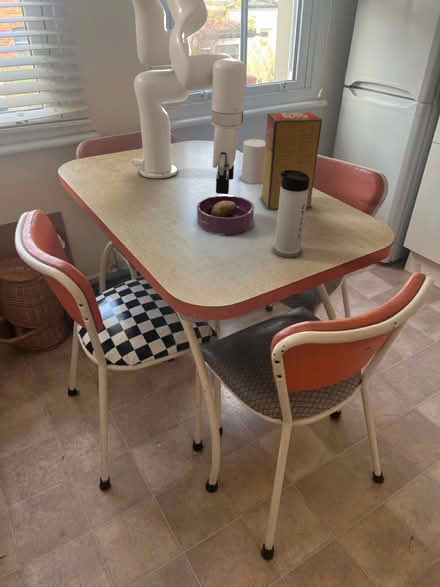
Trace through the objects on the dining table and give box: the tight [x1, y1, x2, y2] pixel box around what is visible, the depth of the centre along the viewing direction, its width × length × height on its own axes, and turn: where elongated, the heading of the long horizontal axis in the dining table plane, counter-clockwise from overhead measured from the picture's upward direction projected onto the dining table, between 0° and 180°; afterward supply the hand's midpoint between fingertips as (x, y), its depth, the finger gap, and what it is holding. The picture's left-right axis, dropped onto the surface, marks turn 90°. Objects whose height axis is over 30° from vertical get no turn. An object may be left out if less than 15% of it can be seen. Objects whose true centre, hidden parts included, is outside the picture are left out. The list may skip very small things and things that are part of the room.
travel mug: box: [273, 170, 310, 258], centre depth 103 cm, size 6×7×20 cm
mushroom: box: [211, 201, 237, 218], centre depth 119 cm, size 8×8×6 cm
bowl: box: [196, 194, 255, 235], centre depth 120 cm, size 15×15×5 cm
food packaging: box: [260, 111, 323, 210], centre depth 126 cm, size 13×9×25 cm
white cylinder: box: [241, 138, 266, 184], centre depth 146 cm, size 8×8×12 cm
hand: (224, 185), depth 116 cm, fingers open, 9 cm apart
